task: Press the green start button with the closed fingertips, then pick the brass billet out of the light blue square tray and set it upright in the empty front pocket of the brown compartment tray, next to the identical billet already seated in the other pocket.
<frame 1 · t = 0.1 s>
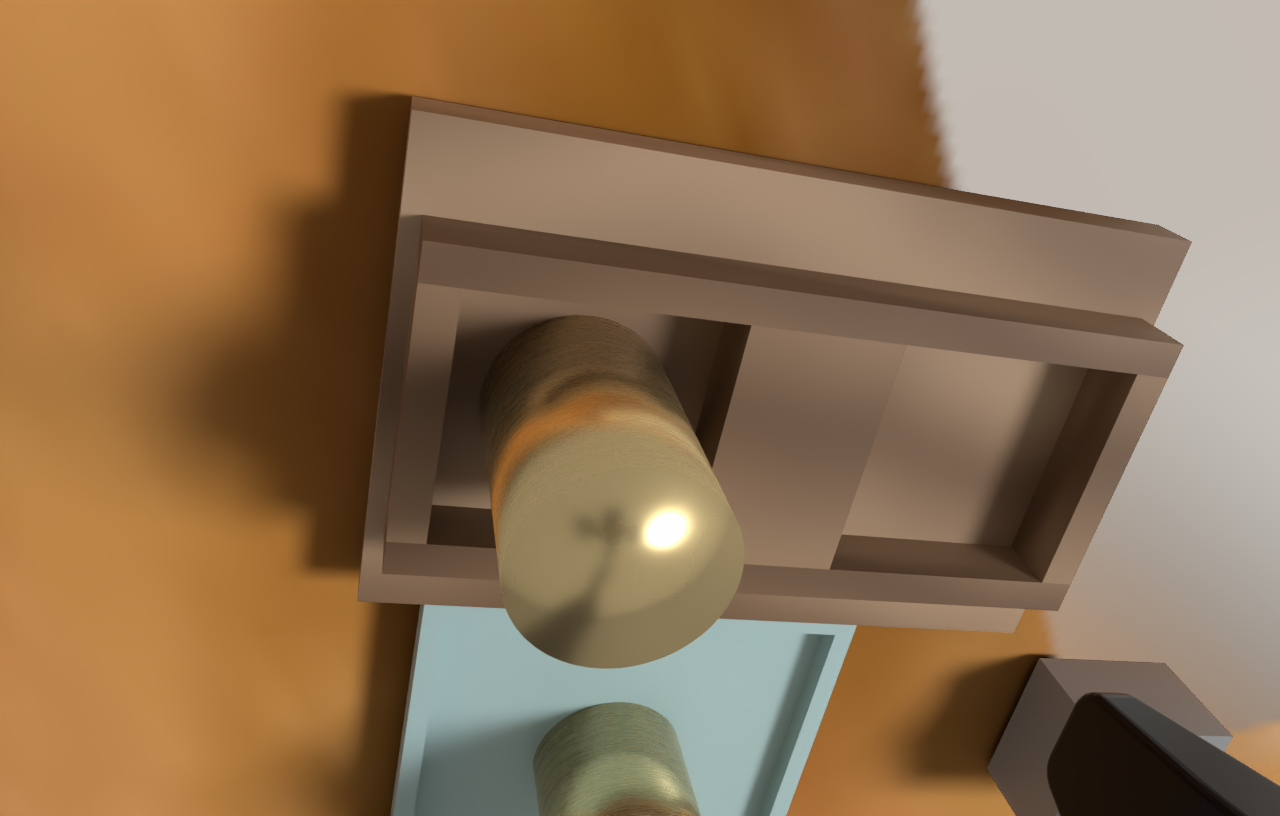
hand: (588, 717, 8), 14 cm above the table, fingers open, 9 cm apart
billet: (606, 758, 28), resting on light blue square tray
button housing: (1074, 716, 32), on the table
brown compartment tray: (756, 398, 24), on the table
light blue square tray: (604, 747, 28), on the table
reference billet: (575, 402, 22), point 1 cm above the table, touching brown compartment tray
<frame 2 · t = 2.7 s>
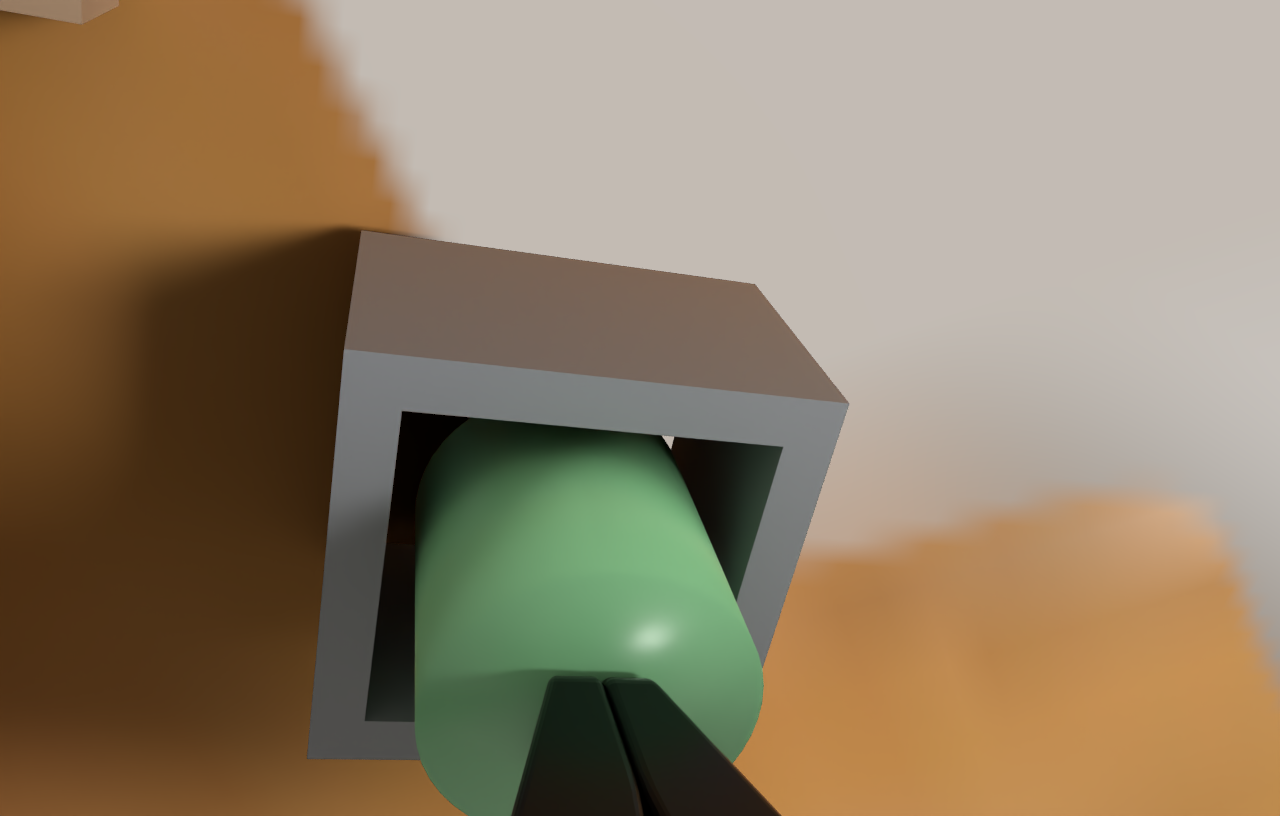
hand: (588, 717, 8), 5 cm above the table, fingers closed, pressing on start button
start button: (570, 598, 10), point 3 cm above the table, slide at 0.3 cm, touching gripper
button housing: (535, 433, 12), on the table
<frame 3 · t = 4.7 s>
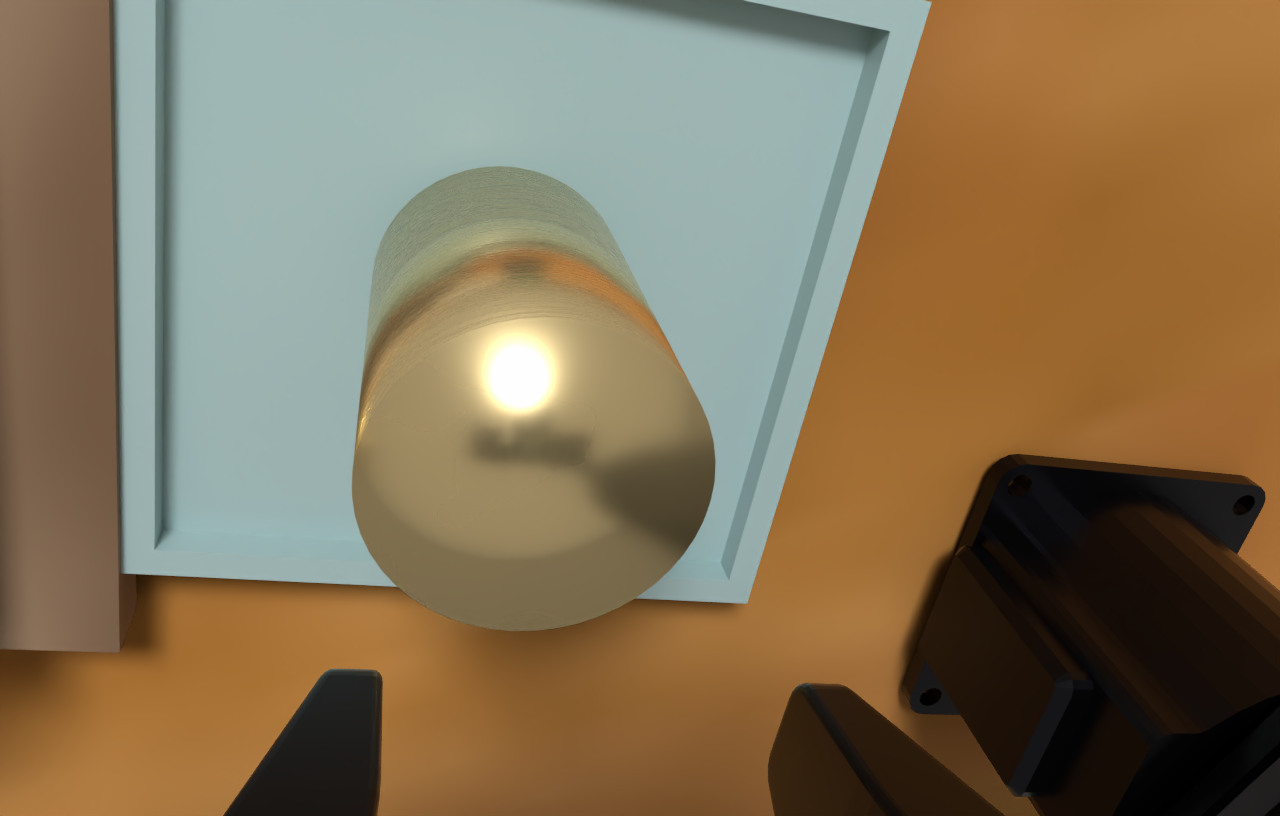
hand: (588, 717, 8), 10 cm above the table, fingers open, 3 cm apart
billet: (500, 290, 17), resting on light blue square tray
light blue square tray: (498, 281, 17), on the table
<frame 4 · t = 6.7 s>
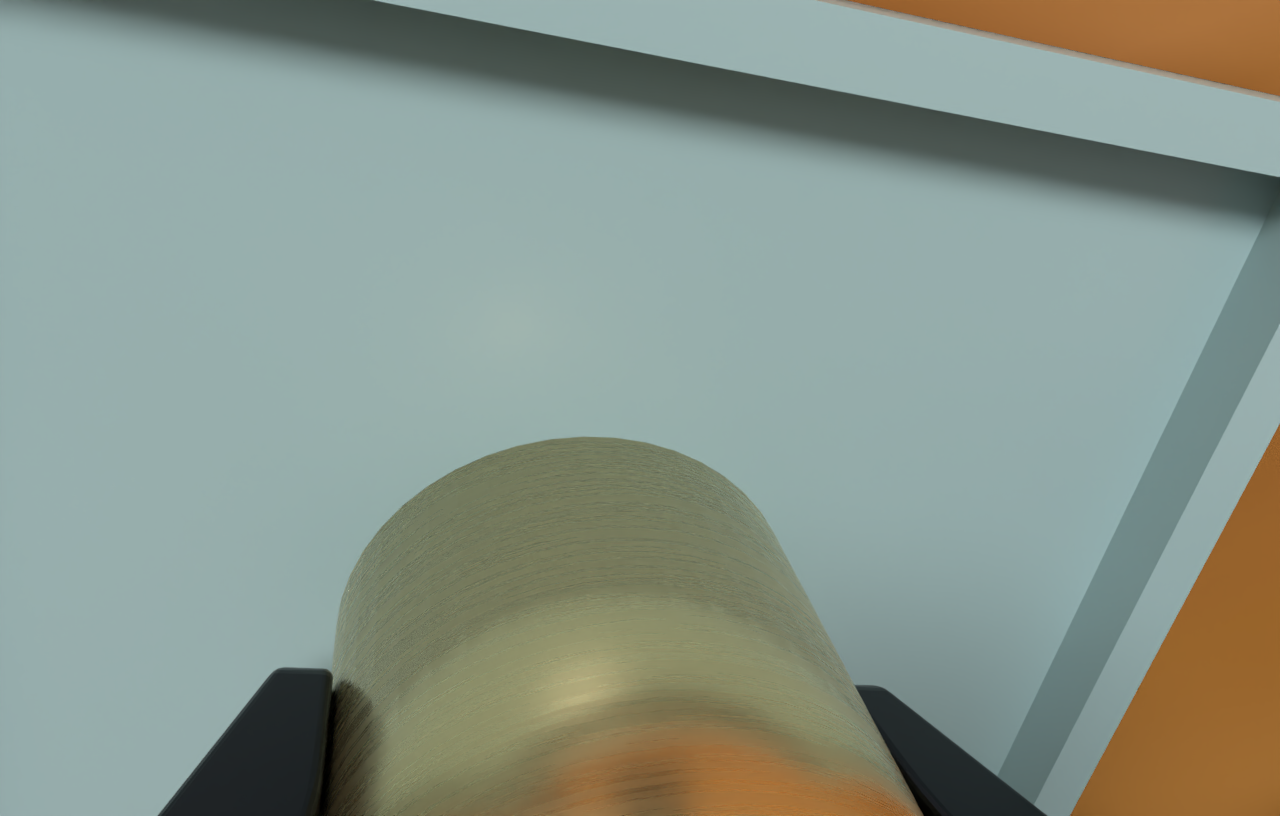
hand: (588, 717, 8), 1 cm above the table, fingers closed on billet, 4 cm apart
billet: (571, 634, 9), resting on light blue square tray, touching gripper
light blue square tray: (565, 606, 9), on the table
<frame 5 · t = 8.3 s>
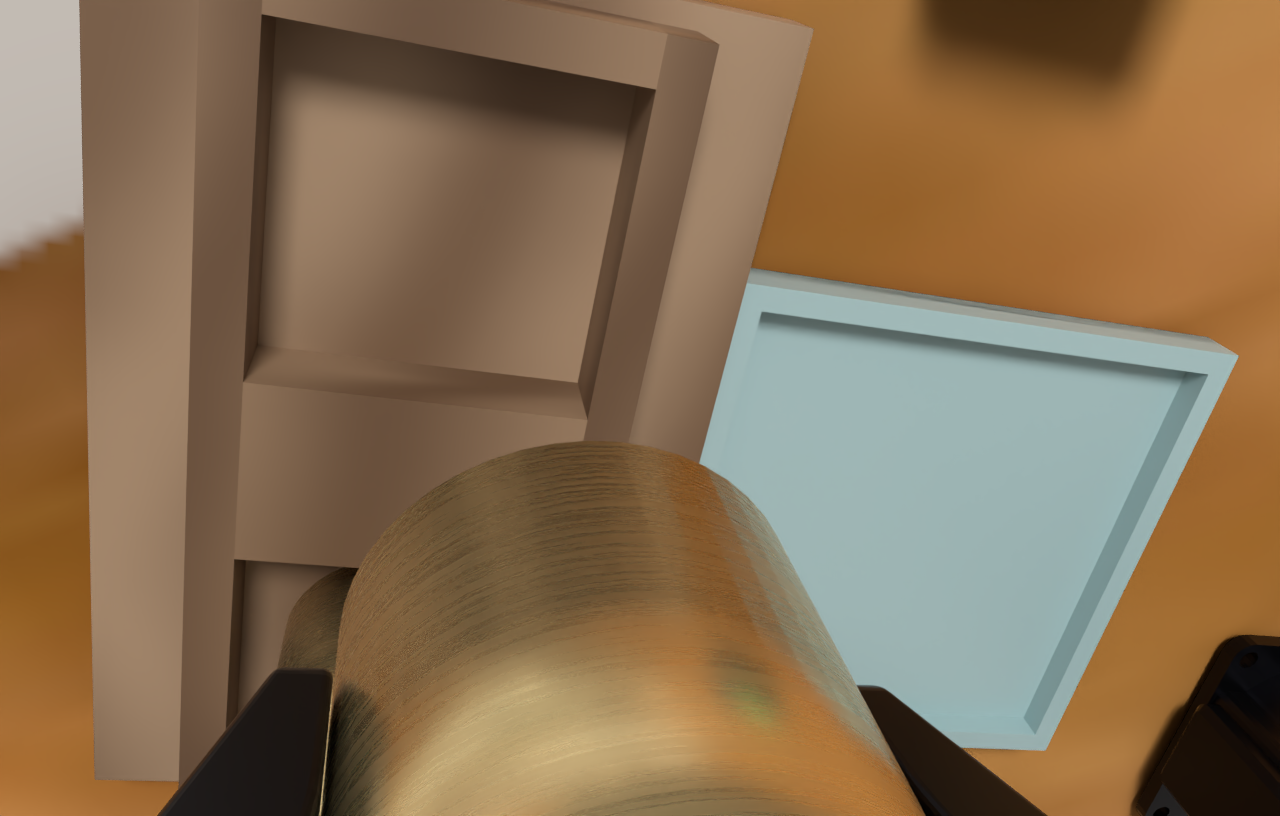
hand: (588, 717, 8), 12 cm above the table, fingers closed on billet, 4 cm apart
billet: (574, 638, 9), point 11 cm above the table, touching gripper
brown compartment tray: (414, 417, 20), on the table
light blue square tray: (900, 528, 23), on the table
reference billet: (387, 640, 21), point 1 cm above the table, touching brown compartment tray
when the fingers open (3 cm above the table, at t = 10.2 s): billet drops 1 cm, resting on brown compartment tray.
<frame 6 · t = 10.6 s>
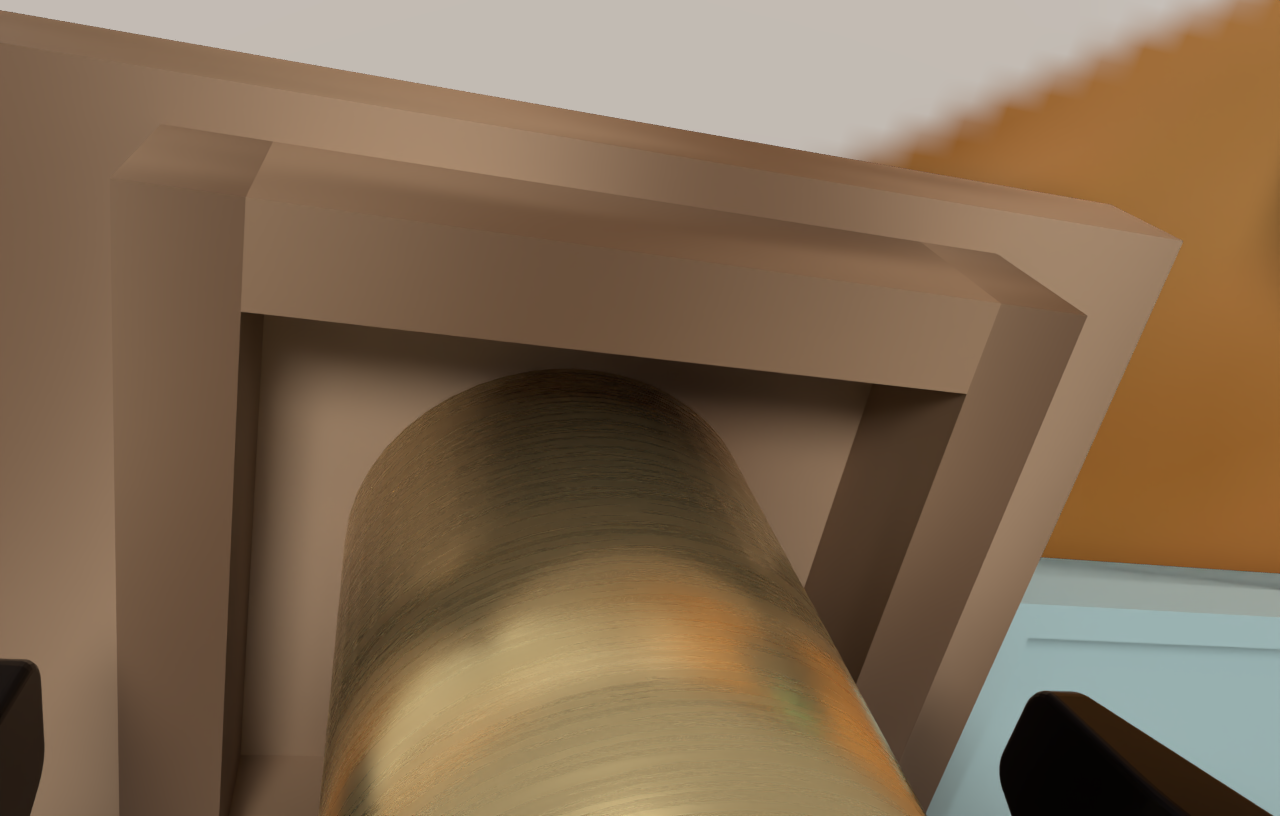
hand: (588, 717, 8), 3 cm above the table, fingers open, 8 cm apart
billet: (554, 551, 10), point 1 cm above the table, touching brown compartment tray
brown compartment tray: (482, 784, 13), on the table
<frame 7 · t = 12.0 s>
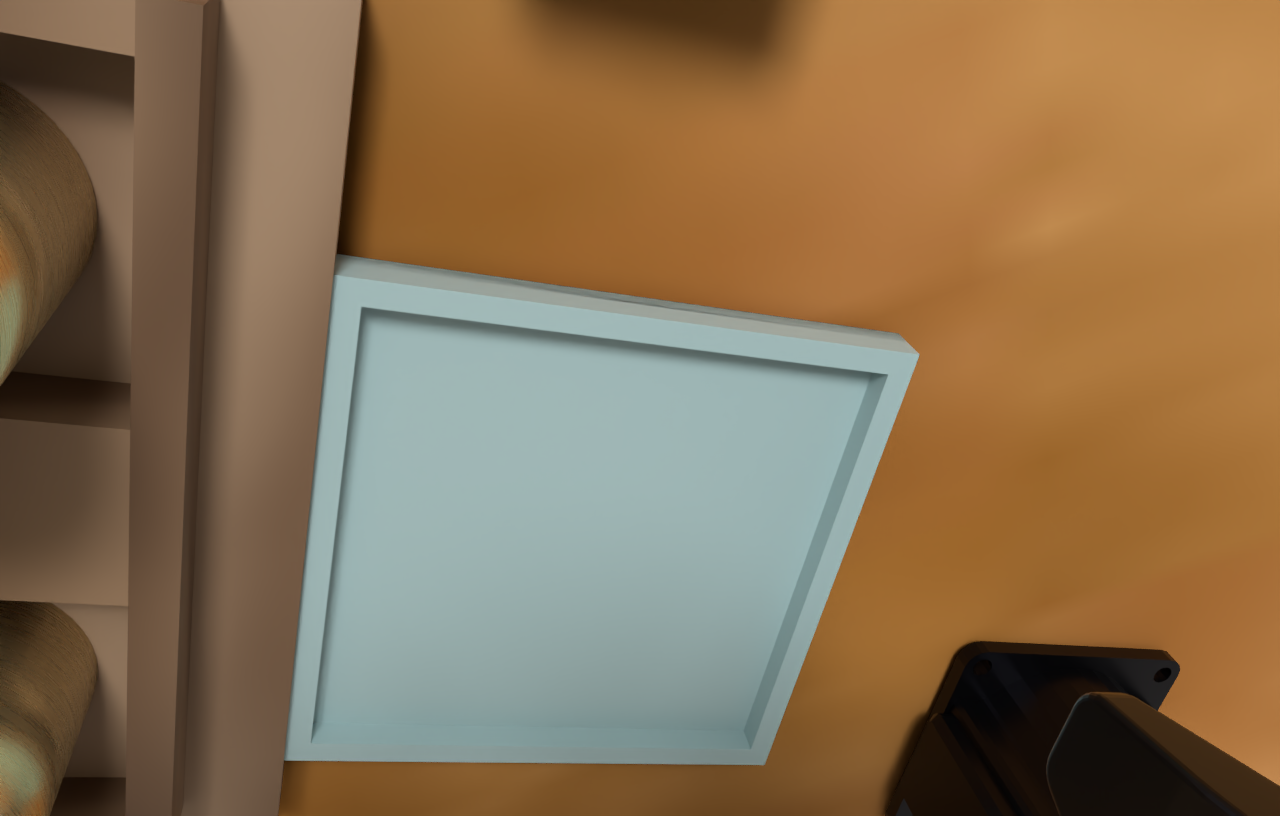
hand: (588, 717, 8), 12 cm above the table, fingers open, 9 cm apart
light blue square tray: (581, 536, 22), on the table
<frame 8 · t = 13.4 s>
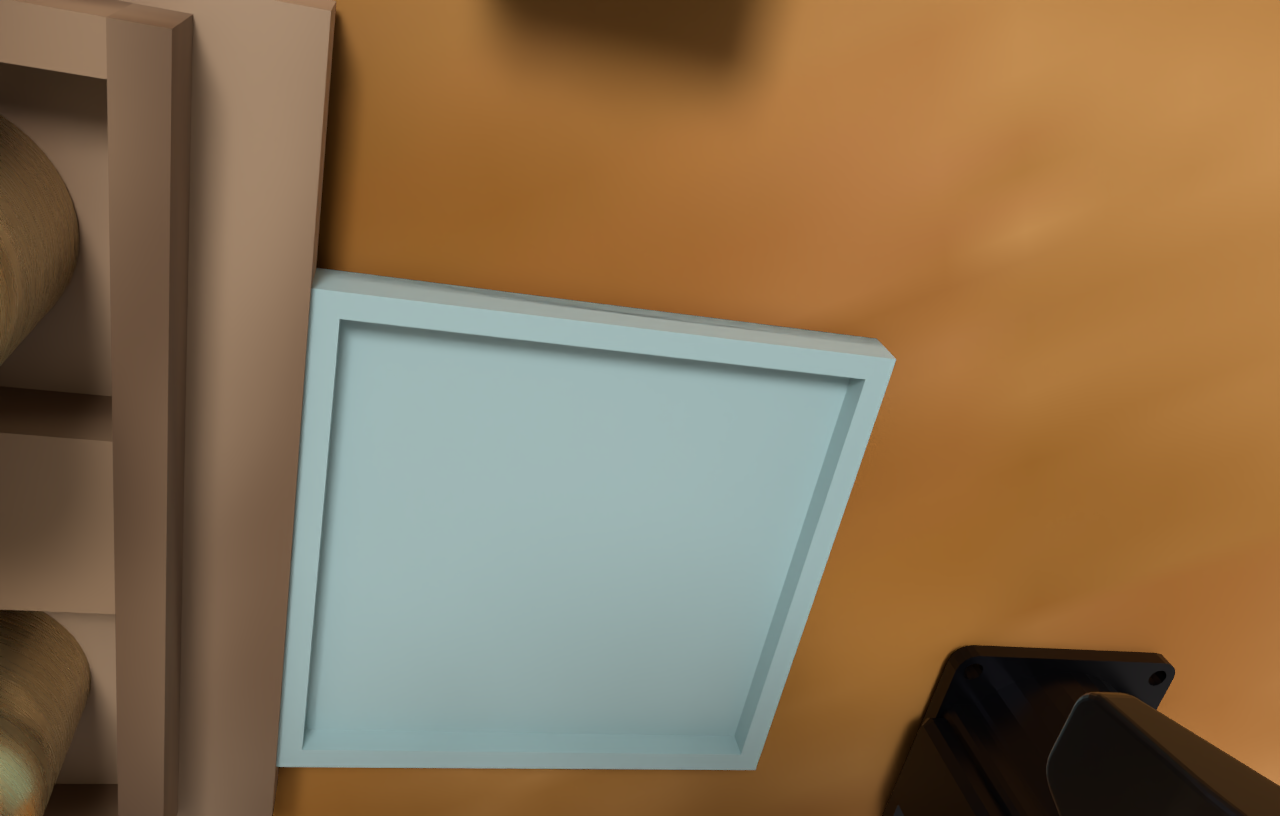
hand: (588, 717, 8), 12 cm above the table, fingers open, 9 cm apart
light blue square tray: (566, 543, 22), on the table
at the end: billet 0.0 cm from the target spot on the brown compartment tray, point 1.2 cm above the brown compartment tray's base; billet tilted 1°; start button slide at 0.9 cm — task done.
